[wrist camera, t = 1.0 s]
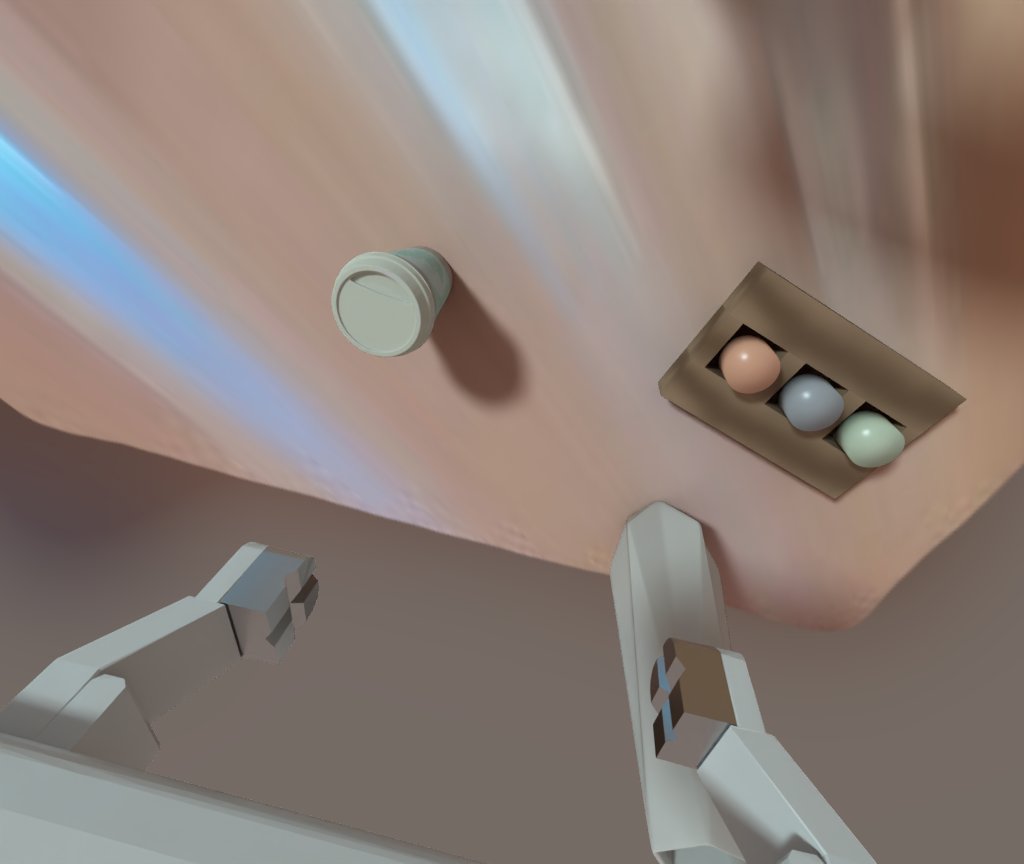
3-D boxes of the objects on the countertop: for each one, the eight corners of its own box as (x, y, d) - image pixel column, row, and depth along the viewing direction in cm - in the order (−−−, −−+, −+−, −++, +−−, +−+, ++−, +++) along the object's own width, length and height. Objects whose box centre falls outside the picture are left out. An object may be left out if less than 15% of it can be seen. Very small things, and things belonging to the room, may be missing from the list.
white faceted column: (734, 515, 56) (860, 880, 28) (673, 569, 62) (726, 913, 34) (648, 468, 55) (691, 803, 27) (594, 529, 61) (584, 852, 33)
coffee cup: (483, 285, 47) (449, 325, 37) (424, 333, 51) (379, 381, 40) (424, 211, 44) (371, 231, 34) (367, 268, 48) (303, 302, 38)
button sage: (863, 402, 44) (878, 418, 41) (899, 425, 44) (916, 442, 42) (824, 435, 46) (837, 452, 44) (859, 457, 47) (873, 475, 44)
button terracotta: (742, 326, 42) (750, 337, 40) (781, 350, 43) (792, 363, 40) (708, 364, 44) (714, 377, 42) (745, 387, 45) (754, 402, 43)
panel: (758, 261, 41) (768, 269, 39) (946, 384, 44) (966, 399, 42) (657, 382, 49) (660, 395, 46) (824, 481, 52) (835, 499, 49)
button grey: (803, 365, 43) (816, 379, 41) (841, 388, 44) (856, 404, 41) (767, 400, 45) (776, 416, 43) (803, 422, 46) (815, 439, 43)
